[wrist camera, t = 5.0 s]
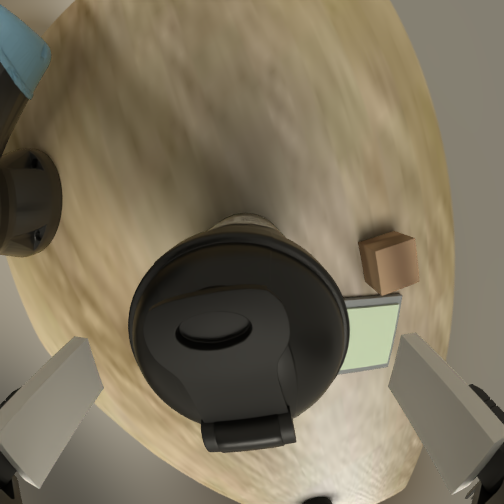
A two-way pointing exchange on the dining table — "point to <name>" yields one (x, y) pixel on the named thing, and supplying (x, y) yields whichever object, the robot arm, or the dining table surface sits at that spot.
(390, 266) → the walnut block
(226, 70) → the dining table surface
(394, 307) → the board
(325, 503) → the mug
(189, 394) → the black travel mug
